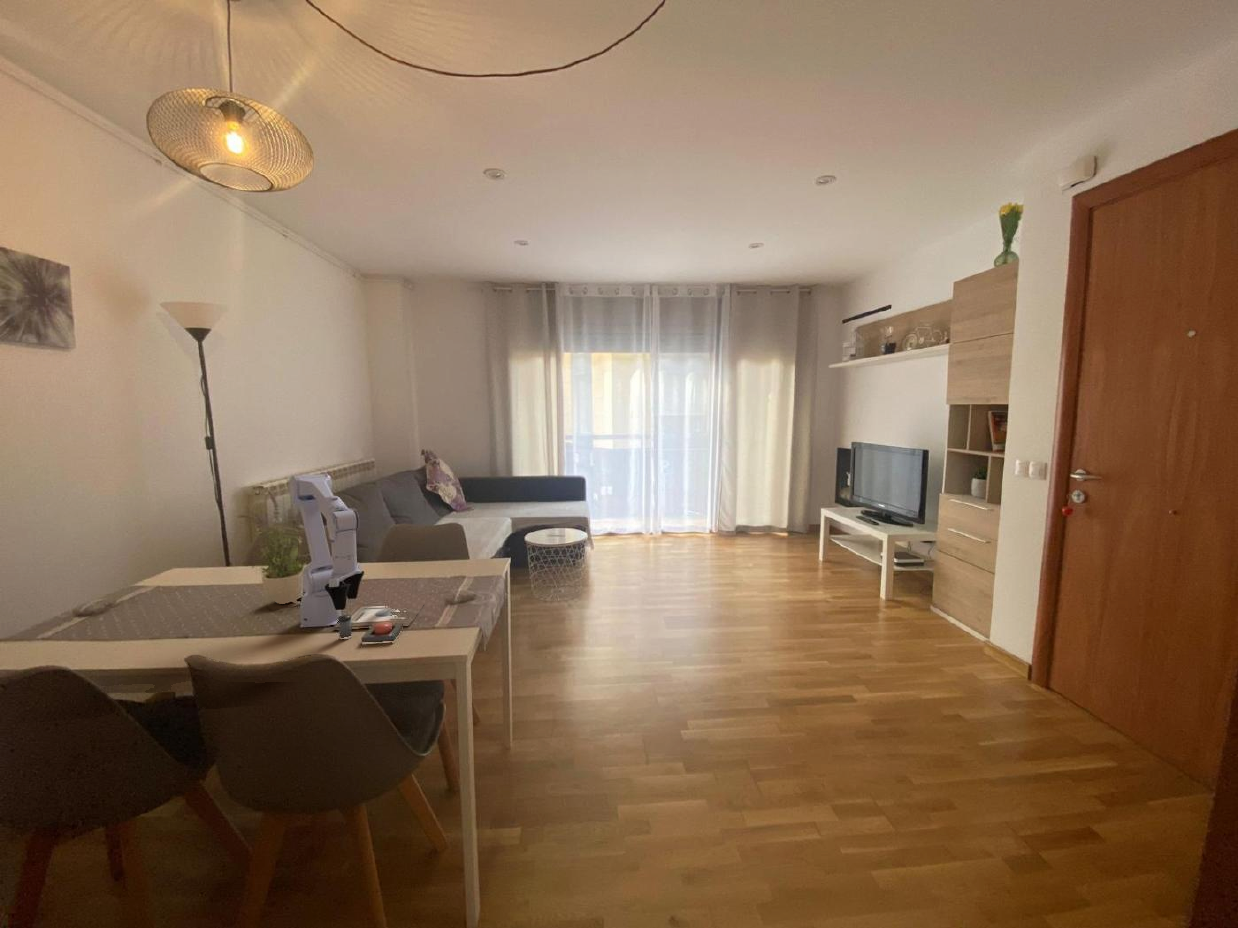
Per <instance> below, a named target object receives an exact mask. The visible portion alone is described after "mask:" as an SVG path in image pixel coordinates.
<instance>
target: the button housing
mask: <svg viewBox="0 0 1238 928" xmlns="http://www.w3.org/2000/svg"><path fill="white" fill-rule="evenodd" d="M402 627H403V623H395V624H392V631H391V633H389V634H376V635H375V634H374V625H372V626H371V628H370V629H367V631H366V632H365V633H364V634H363V635H362V637H361V643H362V642H383V641H394V640H395V639H396V637H397V636H398V635H399V633H400V631H401V630H402ZM403 628H404V627H403ZM399 636H400V635H399Z"/></svg>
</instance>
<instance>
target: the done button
mask: <svg viewBox="0 0 1238 928" xmlns="http://www.w3.org/2000/svg"><path fill="white" fill-rule="evenodd" d="M391 631H392V623H391V622H389V621H385V622H380V623H377V624H375V625H374V634H375V635H376V634H390V633H391Z"/></svg>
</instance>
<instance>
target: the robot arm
mask: <svg viewBox="0 0 1238 928" xmlns="http://www.w3.org/2000/svg"><path fill="white" fill-rule="evenodd" d="M332 489H333V482H332V477H331V476H330V475H329V474H328V473H321V474H307V475H292V476H291V477H290V478H289V480H288V491H289V496H290V501H291V503H292V506H293V507H296V508H298V509H299V511H300V514H301V517H302V523H303V526H304V533H305V536H306V541H307V546H308V551H309V555H310V562H309V563H307V565H306V566H305V567H304V568H303V570H302V573H301V574H302V575H301V576H303V587H304V590H305V592H306V593H305V594H304V595H303V597H302V598H300V600H301V603H300V604H299V606H300V607H299V608H300V609H299V610H300V623H301V624H300V625H299V628H313V627H314V628H316V627H331V626H330V625H334V626H336V625H337V624H338V623H339V622H338V621H337V620H338V617H339V616H341V613H342V612H341V611H342V610H345V609H346V607H347V600H355V599H357V598H358V593H359V589H360V585H361V581H362V579H363V578H364V577H363V576H364V575H365V571H364V570H363V569H362V568H361V566H360V565H361V563H360V562H358V560H357V559H358V557H357V530H359V528H360V516H359V513H358V511H357V509H355V508H350V507H349V508H348V506H347V505H346V503H344V501H343V500H342V499H341V498H340V497H339V496H337V495H334V493H333V492H332ZM322 515H323V517H324V518H325V519H326V527H327V532H328V538H329V540H330V543H331V553H330V548H329V543H328V540H327V535H326V531H325V526H324V522H323V517H322ZM337 622H338V623H337Z"/></svg>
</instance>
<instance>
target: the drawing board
mask: <svg viewBox="0 0 1238 928" xmlns="http://www.w3.org/2000/svg"><path fill="white" fill-rule="evenodd" d="M360 605H361V604H360ZM360 605H359V604H357V605H356V606H355V607H354V608H353V609H352V610H350V611H349V613H348V614H350V615H351V628H352V627H369V626H372V625H375V624H377V623H380V622H385V621H393V620H390V619H405V618H404V617H398V616H397V615H392V614H391V613H390V612H400V611H399V610H398V609H397V610H395V609H391V608H390V607H389V608H388V606H386V607H385V606H367V605H368V604H363V605H364V606H360ZM365 605H366V606H365ZM387 612H388V613H387ZM404 612H406V611H404ZM390 615H392V616H390ZM395 616H396V617H395ZM337 628H338V629H339V622H338V623H337V624H336V625H334V627H333V630H334V629H337Z"/></svg>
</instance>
